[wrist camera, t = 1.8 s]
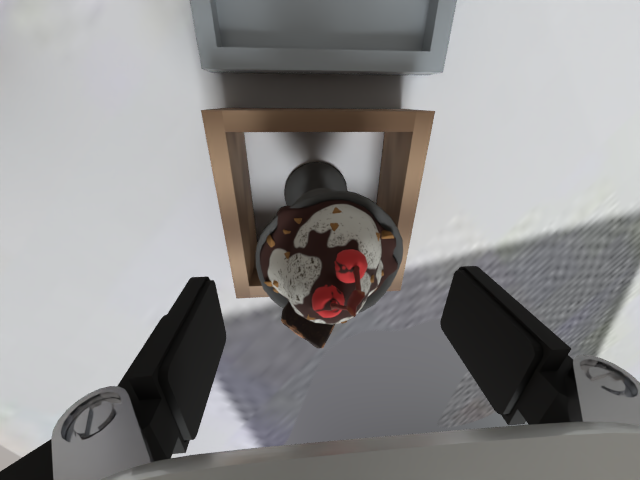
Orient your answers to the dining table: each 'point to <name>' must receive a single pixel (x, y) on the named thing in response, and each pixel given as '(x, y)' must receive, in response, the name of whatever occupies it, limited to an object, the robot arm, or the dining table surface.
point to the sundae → (326, 253)
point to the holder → (230, 124)
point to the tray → (323, 36)
